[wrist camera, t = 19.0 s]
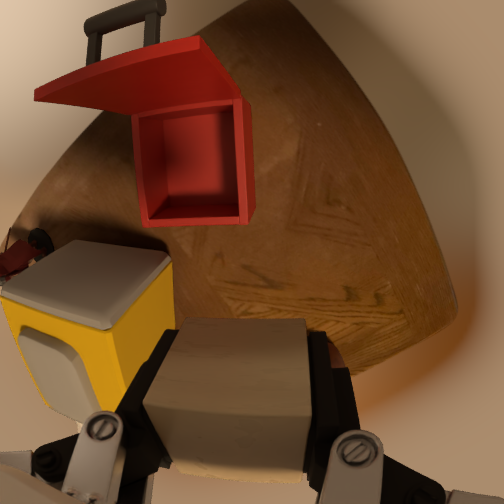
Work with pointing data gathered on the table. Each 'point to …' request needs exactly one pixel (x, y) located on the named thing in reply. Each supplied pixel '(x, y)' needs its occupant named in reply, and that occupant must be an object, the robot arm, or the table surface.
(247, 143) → the open red box
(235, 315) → the table surface
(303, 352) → the block
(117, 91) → the lid
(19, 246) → the figurine
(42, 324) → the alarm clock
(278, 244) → the table surface
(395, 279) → the table surface
